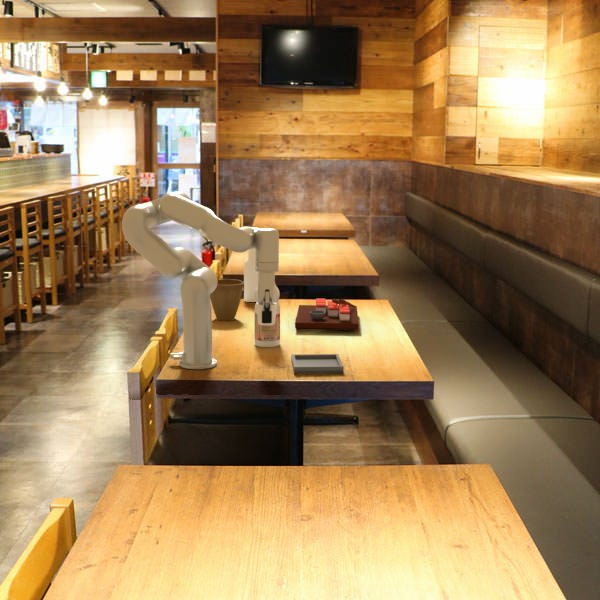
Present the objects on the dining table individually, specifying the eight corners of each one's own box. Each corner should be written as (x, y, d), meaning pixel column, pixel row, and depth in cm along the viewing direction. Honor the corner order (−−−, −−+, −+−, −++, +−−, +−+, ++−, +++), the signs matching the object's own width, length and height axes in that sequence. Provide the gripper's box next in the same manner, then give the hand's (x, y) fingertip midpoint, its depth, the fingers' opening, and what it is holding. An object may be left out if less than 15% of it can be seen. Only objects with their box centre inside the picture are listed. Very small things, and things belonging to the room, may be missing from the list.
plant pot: (217, 324, 340) (217, 285, 337) (202, 317, 353) (202, 280, 350) (249, 320, 348) (249, 282, 345) (234, 314, 360) (234, 277, 357)
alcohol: (265, 300, 392) (265, 236, 386) (260, 303, 383) (259, 238, 377) (247, 299, 394) (246, 236, 388) (241, 302, 385) (241, 238, 379)
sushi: (356, 316, 360) (357, 288, 358) (358, 334, 326) (359, 304, 323) (299, 315, 361) (299, 288, 359) (295, 333, 327) (295, 303, 324)
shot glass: (265, 320, 278) (265, 299, 276) (281, 323, 274) (281, 302, 272) (251, 323, 273) (251, 302, 271) (267, 327, 268) (267, 305, 267)
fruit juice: (249, 344, 307) (248, 269, 302) (266, 340, 314) (266, 266, 309) (267, 349, 301) (267, 272, 296) (285, 344, 308) (285, 269, 302)
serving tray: (294, 374, 269) (294, 367, 268) (291, 361, 284) (291, 354, 284) (343, 373, 270) (343, 366, 269) (337, 361, 285) (338, 353, 285)
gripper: (255, 262, 278) (254, 315, 281) (255, 270, 261) (255, 326, 264) (277, 262, 278) (276, 315, 282) (279, 270, 261) (279, 326, 265)
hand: (266, 320), depth 273 cm, fingers closed on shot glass, 6 cm apart
